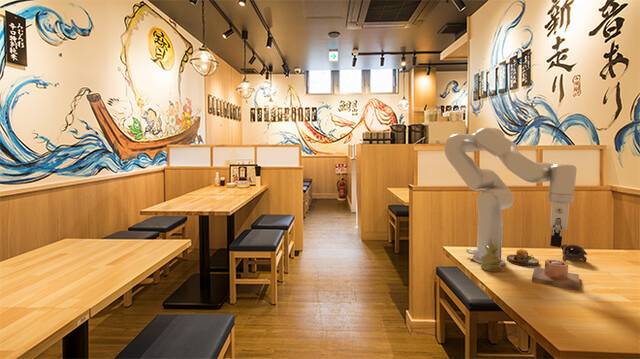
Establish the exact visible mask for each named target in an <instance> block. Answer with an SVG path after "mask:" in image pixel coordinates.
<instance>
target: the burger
mask: <svg viewBox="0 0 640 359" xmlns="http://www.w3.org/2000/svg"><path fill="white" fill-rule="evenodd" d="M515 253H516V254H509V255H507V256H506V261H507V262H510V263H511V264H513V265H516V266H520V265H522V267H528V266H529V267H530V266H535V267H537V266H539V265H540V263H539V262H540V261H539V259H537V258H535V256H533V255H529V252H528V251H527V250H526V249H523V248H519V249H517V250H516V252H515ZM536 265H537V266H536Z"/></svg>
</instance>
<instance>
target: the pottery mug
mask: <svg viewBox="0 0 640 359" xmlns="http://www.w3.org/2000/svg"><path fill="white" fill-rule="evenodd" d="M560 249H561V251H562V262H565V263H566V261H570V262H571V261H572V262H573V261H575V262H577V261H581V260H582V261H584V262H585V263H586V262H587V260H588V259H587V257H586V256H587V255H588V253H587V252H586V251H585V249H584V248H583V246H580V245H579V244H565V243H564V244H561V247H560Z"/></svg>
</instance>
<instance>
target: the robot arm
mask: <svg viewBox="0 0 640 359" xmlns="http://www.w3.org/2000/svg"><path fill="white" fill-rule="evenodd" d="M517 148H518V145H517V144H516V142H513V140H510V139H509V138H507V137H506V136H505V133H504V132H503V131H502V129H499V128H496V127H482V128H480V129H478V130H477V131H476V132H475V133H455V134H454V133H453V134H452V135H450V136H449V137H448V138H447V140H446V141H445V144H444V154H445V156H446V160H448V162H449V163H450V165H451V166H452V168H454V169H455V171H456V173H457V174H458V175H459V176H460V178H461V179H462V180H463V182H464V183H465V185H466V186H467V187H468V188H469V189H470V190H472V191H478V192H479V191H481V192H479V194H478V196H477V199H476V207H477V213H478V216H477V219H478V220H477V241H476V244H477V245H476V248H474V249H473V248H468V247H466V253H467V254H468V255H473V256H472V260H473V261H474V262H475V263H477V264H481V262H482V261H481V257H482V256H484V255H485V254H487V253H488V251H487V250H486V249H485V246H487V245H490V244H492V245H494V246H496V247H498V248H499V249H498V250H497V251H496V252H495V254H496V255H497V256H498V257H499V258H500V259H501V263H500V264H501V266H503V265H505V264H506V260H505V259H504V258H502V249H503V248H502V247H503V246H502V245H503V227H504V217H503V212H502V210H506V209H509V208H510V207H512V205H513V204H514V198H515V197H514V195H513V193H512V191H511V190H510V188H509V187H508V185H506V183H505V182H504V181H503V180H502V179H501V178H500V176H499V174H497V173H496V172H495V171H493V170H492V169H489V168H481V167H480V166H478V164H477V163H476V162H475V160H474V159H473V158H472V157H471V156H469V155H468V154H467V153H474V152H479V151H486V152H487V153H489V154H491V155H492V156H494V157H495V158H496V159H497V160H500V162H501V163H502V164H503V165H504V166H505V167H506V169H507V170H509V172H511V173H512V174H514V175H516V176H517V177H518V178H520V179H521V180H524V181H525V182H526V183H530V184H531V183H534V184H535V183H536V184H537V183H546V182H547V183H549V184H548V185H549V187H548V196H547V197H548V198H547V202H550V203H551V206H550V207H551V208H550V228H551V229H552V230H551V235H550V247H553V248H554V247H556V248H561V246H562V245H563V244H562V242H563V230H564V231H565V232H566V231H568V225H569V224H568V223H569V217H570V216H569V214H570V204H574V199H575V188H576V179H577V171H578V170H577V166H576V165H573V164H565V163H561V164H560V163H558V164H557V163H552V162H551V163H549V162H541V161H540V162H538V161H537V162H534V161H533V160H531V159H529V158H528V157H526V156H525V155H523V154H522V153H521V152H520V151H519V150H518V149H517Z"/></svg>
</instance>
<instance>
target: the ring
mask: <svg viewBox="0 0 640 359" xmlns="http://www.w3.org/2000/svg"><path fill="white" fill-rule="evenodd" d="M552 262H560V263H561V265H556V264H552ZM544 268H545V271H544V275H546V276H547V277H550V278H554V279H562V280H564V279H567V276H568V273H569V263H567V262H566V261H565V262H564V261H563V260H562V261H561V260H557V259H546V260H544Z"/></svg>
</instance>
